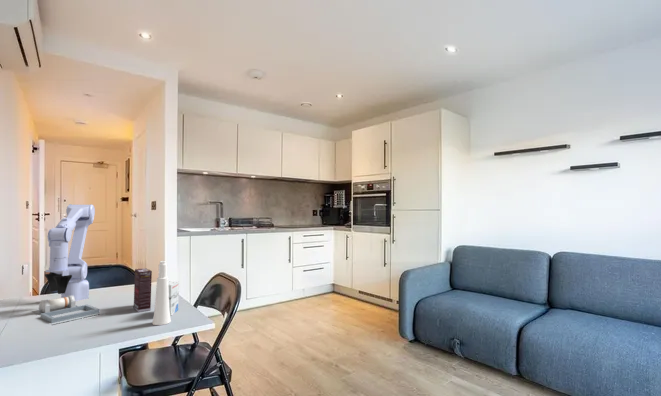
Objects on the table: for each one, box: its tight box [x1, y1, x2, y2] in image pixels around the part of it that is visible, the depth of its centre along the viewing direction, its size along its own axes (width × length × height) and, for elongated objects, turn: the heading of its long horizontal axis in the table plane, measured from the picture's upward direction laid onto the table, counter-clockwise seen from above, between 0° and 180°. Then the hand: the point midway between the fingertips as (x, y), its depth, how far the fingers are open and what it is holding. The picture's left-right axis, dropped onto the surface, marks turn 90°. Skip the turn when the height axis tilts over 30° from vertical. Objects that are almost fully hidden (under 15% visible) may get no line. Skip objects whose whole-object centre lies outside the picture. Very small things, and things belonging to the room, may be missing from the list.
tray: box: [40, 304, 100, 326], centre depth 131 cm, size 15×11×2 cm
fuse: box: [39, 295, 75, 313], centre depth 138 cm, size 10×5×5 cm, turn 146°
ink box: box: [168, 280, 180, 317], centre depth 137 cm, size 8×5×12 cm, turn 5°
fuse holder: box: [32, 301, 78, 316], centre depth 138 cm, size 13×10×4 cm
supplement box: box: [133, 267, 153, 313], centre depth 142 cm, size 9×5×16 cm, turn 41°
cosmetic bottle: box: [151, 260, 172, 326], centre depth 125 cm, size 6×6×22 cm
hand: (57, 292), depth 138 cm, fingers open, 7 cm apart
